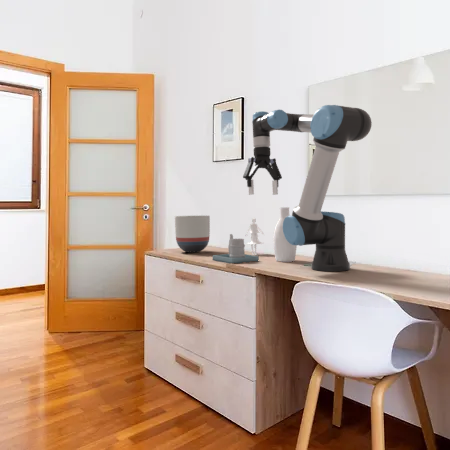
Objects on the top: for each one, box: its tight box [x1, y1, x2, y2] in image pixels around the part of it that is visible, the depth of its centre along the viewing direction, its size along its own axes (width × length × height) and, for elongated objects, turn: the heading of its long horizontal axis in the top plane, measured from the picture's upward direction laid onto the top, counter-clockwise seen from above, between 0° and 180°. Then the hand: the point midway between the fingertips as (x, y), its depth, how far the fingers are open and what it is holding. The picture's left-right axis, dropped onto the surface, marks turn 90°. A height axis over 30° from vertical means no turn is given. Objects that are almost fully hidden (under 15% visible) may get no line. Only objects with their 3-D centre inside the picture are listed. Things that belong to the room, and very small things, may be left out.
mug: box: [228, 233, 246, 258], centre depth 205 cm, size 8×12×12 cm, turn 29°
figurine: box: [245, 217, 265, 256], centre depth 230 cm, size 13×10×20 cm
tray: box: [212, 253, 260, 264], centre depth 205 cm, size 18×15×2 cm
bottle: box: [272, 206, 298, 263], centre depth 201 cm, size 11×11×25 cm
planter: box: [174, 214, 211, 253], centre depth 249 cm, size 20×20×21 cm
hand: (263, 194), depth 190 cm, fingers open, 13 cm apart
